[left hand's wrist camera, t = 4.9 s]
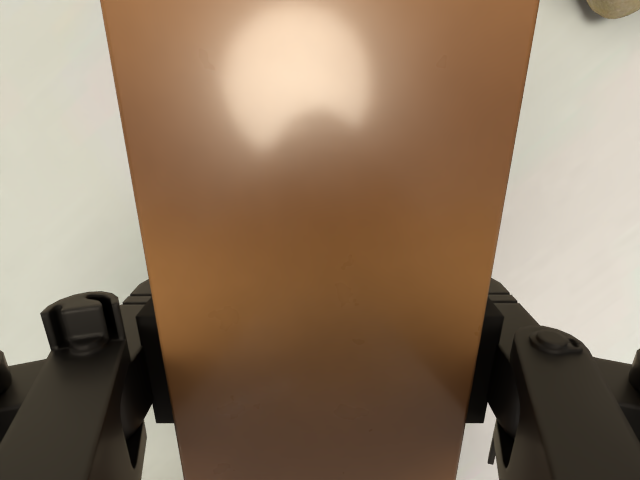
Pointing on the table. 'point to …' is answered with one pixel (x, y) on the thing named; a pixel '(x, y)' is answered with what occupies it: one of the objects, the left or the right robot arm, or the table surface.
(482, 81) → the bar
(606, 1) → the sculpture
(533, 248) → the table surface
